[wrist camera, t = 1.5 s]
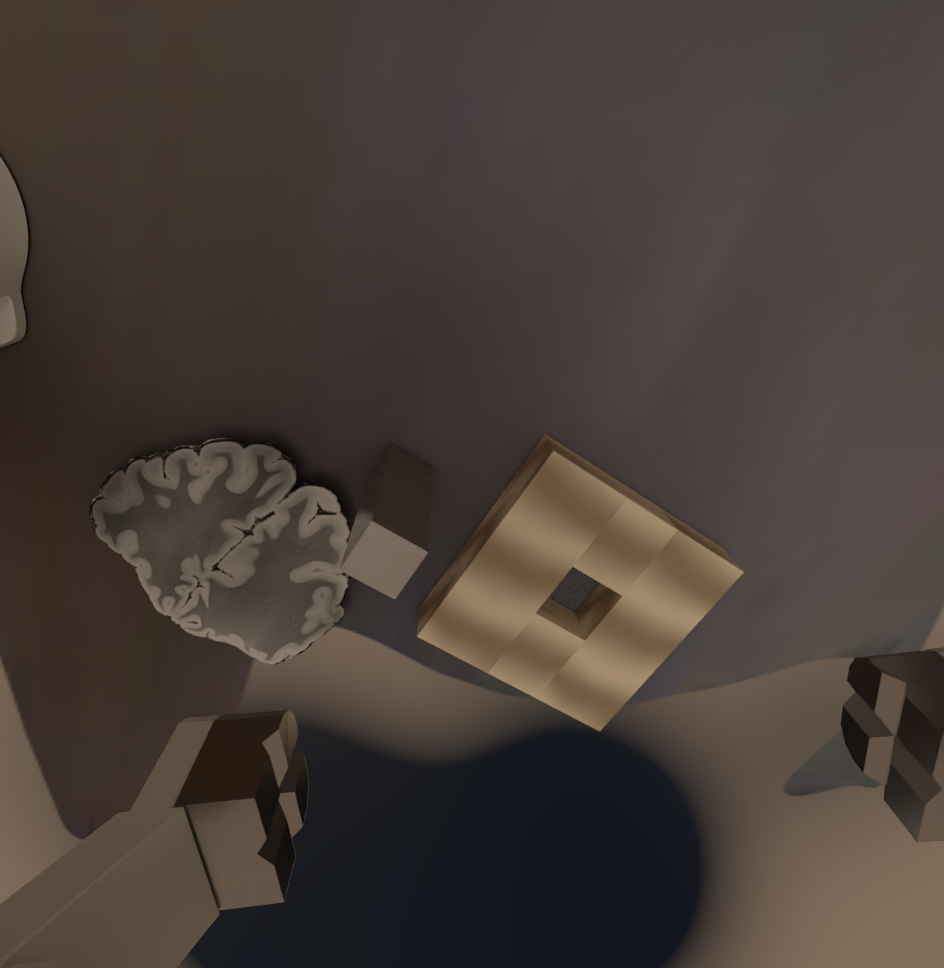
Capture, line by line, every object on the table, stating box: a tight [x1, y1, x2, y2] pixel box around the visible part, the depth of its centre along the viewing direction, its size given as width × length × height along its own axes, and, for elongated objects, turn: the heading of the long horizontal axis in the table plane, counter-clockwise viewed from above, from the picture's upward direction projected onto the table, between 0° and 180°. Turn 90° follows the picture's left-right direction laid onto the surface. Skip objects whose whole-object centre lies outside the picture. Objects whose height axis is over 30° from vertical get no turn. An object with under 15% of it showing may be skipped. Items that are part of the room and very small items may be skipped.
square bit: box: [340, 442, 432, 599], centre depth 42 cm, size 4×4×14 cm
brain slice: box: [89, 438, 350, 665], centre depth 49 cm, size 20×17×3 cm
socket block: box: [417, 434, 744, 731], centre depth 51 cm, size 18×18×4 cm
